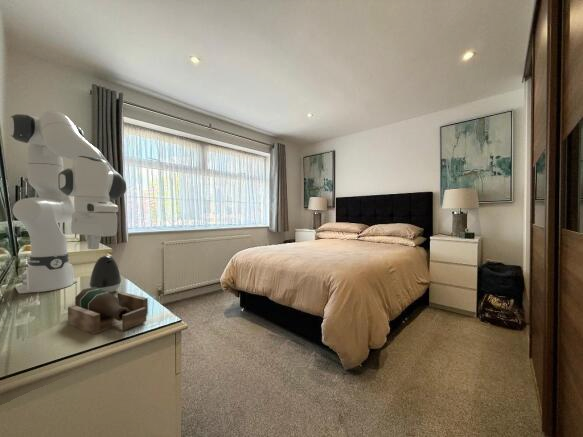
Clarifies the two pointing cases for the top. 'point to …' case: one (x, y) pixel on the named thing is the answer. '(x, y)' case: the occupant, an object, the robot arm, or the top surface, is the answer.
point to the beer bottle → (100, 303)
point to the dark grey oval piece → (105, 275)
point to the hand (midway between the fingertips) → (93, 249)
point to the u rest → (94, 324)
